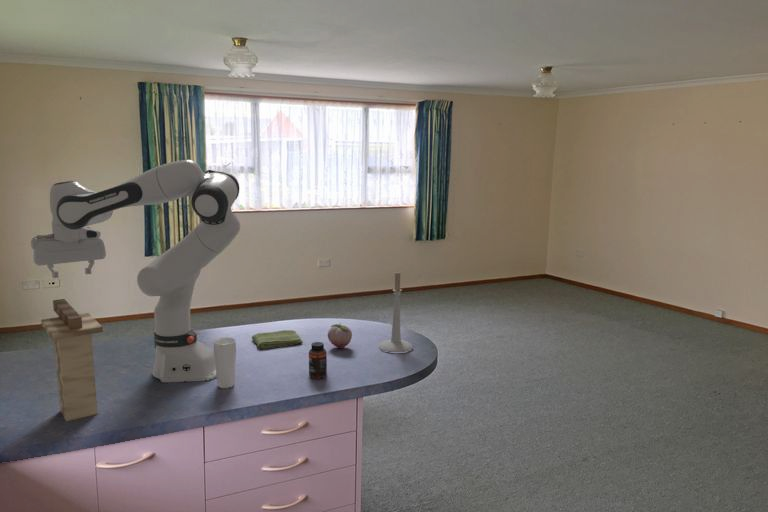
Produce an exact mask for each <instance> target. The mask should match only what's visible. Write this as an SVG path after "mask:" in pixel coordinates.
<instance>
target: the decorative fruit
mask: <svg viewBox="0 0 768 512" xmlns="http://www.w3.org/2000/svg"><path fill="white" fill-rule="evenodd" d="M352 336H353V333H352V330H351V328H350V327H348V326H346V325H343V324H339V323H338V324H337V323H336V324H332V325H331V326H330V329H329V330H328V332H327V338H328V340H329V342H330V343H331V344H332V345H333V346H334V347H336V348H338V349H342V348H344V347H347V346H348V345H349V344H350V343H351V340H352V338H353V337H352Z"/></svg>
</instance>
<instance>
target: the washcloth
mask: <svg viewBox="0 0 768 512" xmlns="http://www.w3.org/2000/svg"><path fill="white" fill-rule="evenodd" d="M251 339H252V341H253V342H254V343H255V344H256V346H257V348H258V349H259V350H267V348H268V349H274V348H273V347H277V348H281V347H280V346H282V347H288V345H289V346H293V345H294V344H296V345H301V344H303V339H302V338H301V337H300V336H299V334H298V333H297V332H296V330H293V329H291V330H286V329H284V330H278V331H272V332H271V331H270V332H261V333H256V334H253V335H252V336H251ZM300 343H301V344H300ZM294 346H295V345H294Z"/></svg>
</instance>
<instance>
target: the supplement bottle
mask: <svg viewBox="0 0 768 512" xmlns="http://www.w3.org/2000/svg"><path fill="white" fill-rule="evenodd" d="M327 360H328V359H327V350H326V348H325V347H324V342H321V341H314V342H312V343H311V349H309V351H308V376H309V377H310V378H312V379H315V378H317V380H318V378H320V379H324V378H325V377H327V375H328V374H327V373H328V371H327V369H328V364H327V362H328V361H327ZM323 377H324V378H323Z"/></svg>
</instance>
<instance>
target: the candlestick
mask: <svg viewBox="0 0 768 512" xmlns="http://www.w3.org/2000/svg"><path fill="white" fill-rule="evenodd" d="M392 291H393V295H394V299H393V313H392V314H393V315H392V325H391V337H390V339H387V340H384V341H382V342H380V343H379V345H378V349H379V348H380V349H382V350H384V351H388V352H405V351H409V350H411V349H412V350H413V345H412V343H410V342H408V341H406V340H403V339H401V306H400V305H401V301H400V300H401V299H400V296H401V293H402V291H403V289H401V272H400V271H395V272H394V288H393V289H392ZM380 349H379V350H380ZM412 350H411V351H412Z"/></svg>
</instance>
